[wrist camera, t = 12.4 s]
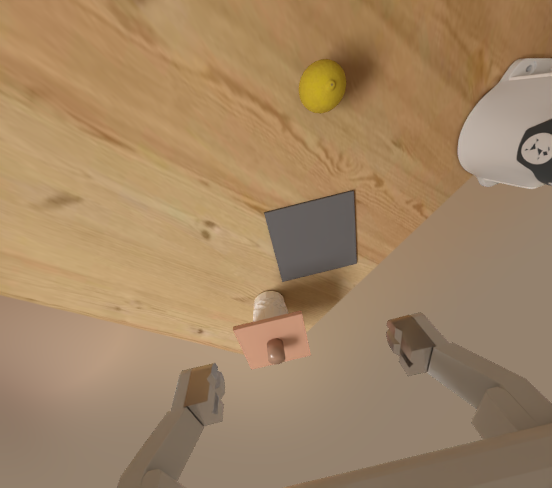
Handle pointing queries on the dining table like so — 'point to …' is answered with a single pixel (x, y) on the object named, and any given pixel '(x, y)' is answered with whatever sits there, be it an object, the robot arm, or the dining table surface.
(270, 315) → the white cup
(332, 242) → the mat
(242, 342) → the lid
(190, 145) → the dining table surface
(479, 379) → the robot arm
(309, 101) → the lemon
